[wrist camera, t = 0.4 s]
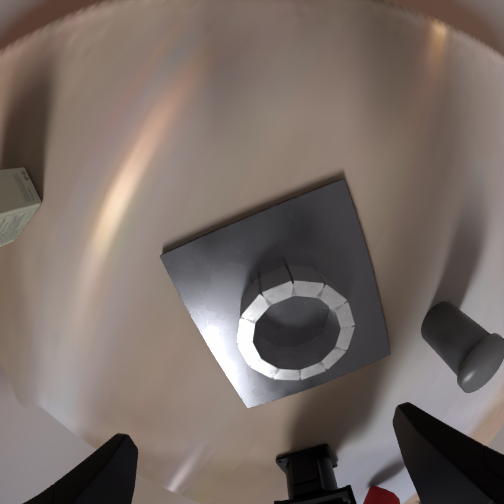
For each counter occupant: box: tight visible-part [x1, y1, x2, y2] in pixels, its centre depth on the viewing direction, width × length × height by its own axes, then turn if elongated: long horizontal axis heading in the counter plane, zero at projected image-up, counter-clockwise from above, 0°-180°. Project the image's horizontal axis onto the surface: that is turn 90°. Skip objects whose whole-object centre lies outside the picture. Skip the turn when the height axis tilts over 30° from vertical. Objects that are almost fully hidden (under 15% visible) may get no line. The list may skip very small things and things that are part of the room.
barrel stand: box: [160, 179, 390, 408], centre depth 20 cm, size 16×14×4 cm
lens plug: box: [421, 302, 504, 393], centre depth 18 cm, size 5×5×8 cm
